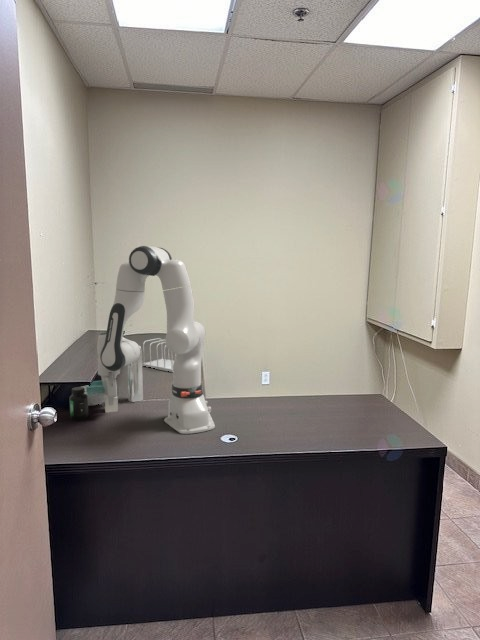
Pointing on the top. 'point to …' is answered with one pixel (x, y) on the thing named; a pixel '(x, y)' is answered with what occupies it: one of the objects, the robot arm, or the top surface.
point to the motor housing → (95, 393)
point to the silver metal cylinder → (135, 380)
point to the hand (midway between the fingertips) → (109, 401)
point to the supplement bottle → (78, 404)
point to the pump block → (110, 407)
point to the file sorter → (161, 363)
